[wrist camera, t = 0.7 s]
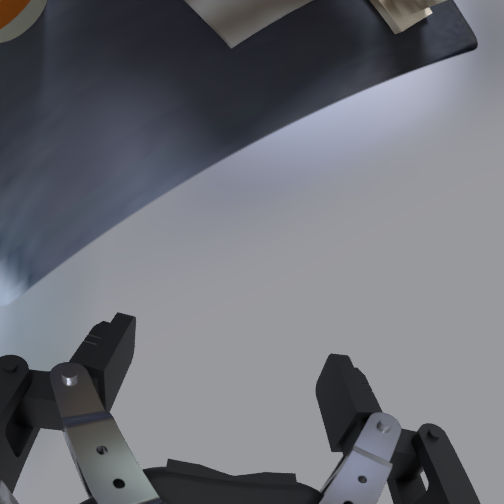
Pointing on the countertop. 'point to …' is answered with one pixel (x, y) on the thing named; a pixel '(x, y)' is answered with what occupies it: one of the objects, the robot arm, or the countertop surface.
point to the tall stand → (403, 12)
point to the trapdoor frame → (242, 15)
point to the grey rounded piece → (18, 17)
